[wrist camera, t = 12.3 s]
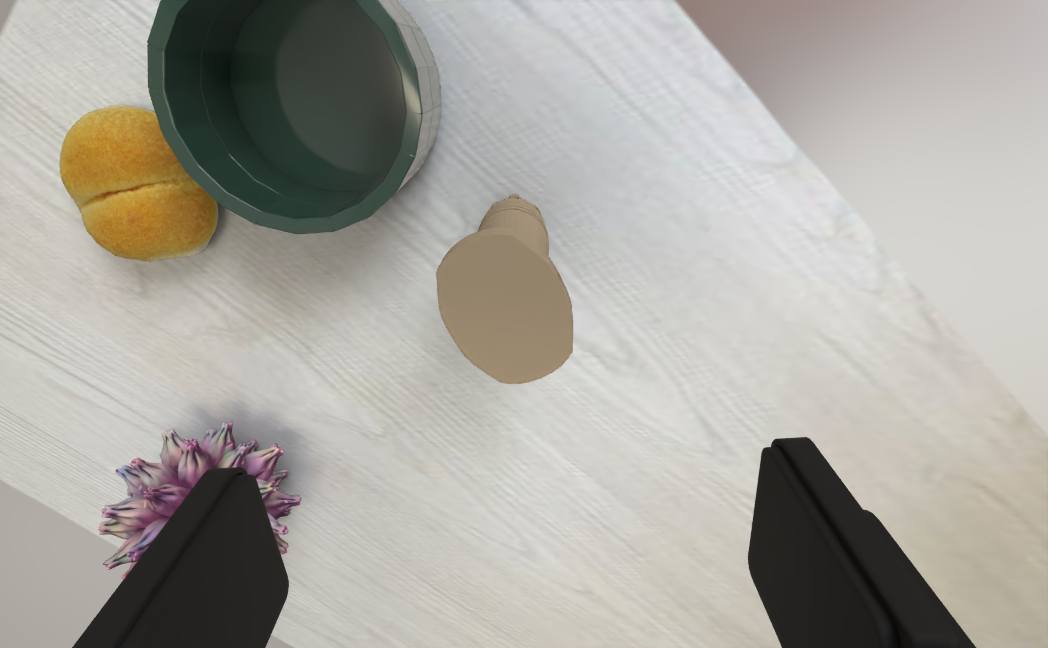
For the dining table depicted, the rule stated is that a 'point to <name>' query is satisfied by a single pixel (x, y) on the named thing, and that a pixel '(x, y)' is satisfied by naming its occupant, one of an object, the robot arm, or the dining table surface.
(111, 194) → the bread roll
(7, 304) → the dining table surface
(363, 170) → the pot
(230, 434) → the flower
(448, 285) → the handle
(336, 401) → the dining table surface
